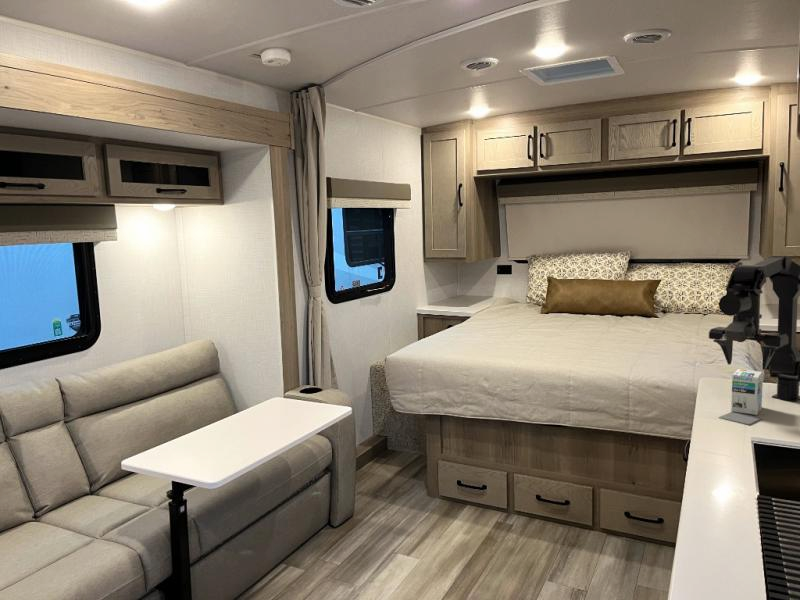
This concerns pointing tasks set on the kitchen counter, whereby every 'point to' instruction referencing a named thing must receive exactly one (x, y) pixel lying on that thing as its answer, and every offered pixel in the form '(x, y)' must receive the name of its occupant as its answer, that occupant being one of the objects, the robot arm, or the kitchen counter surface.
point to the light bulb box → (747, 391)
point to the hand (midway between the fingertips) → (746, 366)
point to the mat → (741, 418)
